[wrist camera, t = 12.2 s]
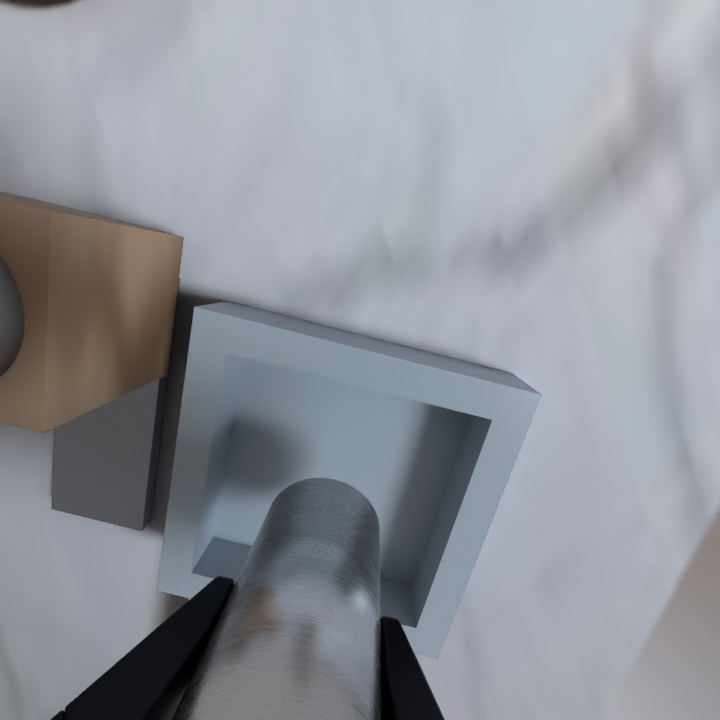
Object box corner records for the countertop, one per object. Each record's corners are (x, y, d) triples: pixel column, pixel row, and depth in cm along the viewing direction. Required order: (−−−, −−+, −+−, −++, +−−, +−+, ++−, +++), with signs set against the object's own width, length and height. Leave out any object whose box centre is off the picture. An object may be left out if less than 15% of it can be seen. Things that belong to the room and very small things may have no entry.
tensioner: (167, 374, 13) (-59, 480, 6) (35, 341, 13) (-335, 413, 6) (183, 237, 12) (-73, 186, 5) (39, 200, 12) (-412, 99, 5)
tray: (428, 601, 16) (437, 659, 14) (190, 542, 16) (156, 590, 14) (512, 373, 14) (541, 394, 11) (227, 301, 13) (194, 306, 11)
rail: (150, 521, 16) (141, 530, 15) (63, 500, 16) (51, 509, 15) (179, 278, 13) (170, 278, 13) (76, 252, 13) (62, 250, 13)
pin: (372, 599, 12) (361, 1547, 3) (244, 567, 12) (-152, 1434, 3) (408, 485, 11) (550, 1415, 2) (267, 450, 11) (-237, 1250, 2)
